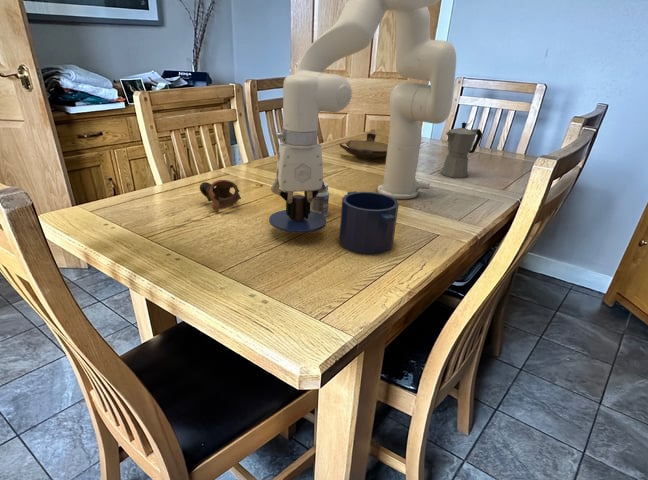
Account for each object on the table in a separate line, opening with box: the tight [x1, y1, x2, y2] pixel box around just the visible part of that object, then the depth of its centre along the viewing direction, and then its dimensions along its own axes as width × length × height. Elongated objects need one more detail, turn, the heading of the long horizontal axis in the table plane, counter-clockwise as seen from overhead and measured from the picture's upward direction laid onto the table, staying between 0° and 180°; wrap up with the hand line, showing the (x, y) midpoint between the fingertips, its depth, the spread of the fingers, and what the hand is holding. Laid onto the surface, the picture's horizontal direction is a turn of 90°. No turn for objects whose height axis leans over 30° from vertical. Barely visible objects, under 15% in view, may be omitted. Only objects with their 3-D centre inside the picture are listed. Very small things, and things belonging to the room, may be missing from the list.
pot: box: [338, 190, 400, 256], centre depth 102 cm, size 13×18×10 cm
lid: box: [268, 194, 328, 234], centre depth 104 cm, size 14×14×7 cm
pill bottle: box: [310, 182, 330, 218], centre depth 117 cm, size 5×5×8 cm
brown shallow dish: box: [339, 128, 388, 159], centre depth 175 cm, size 22×30×8 cm
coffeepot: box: [440, 122, 483, 179], centre depth 155 cm, size 15×9×18 cm, turn 113°
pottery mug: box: [199, 179, 242, 213], centre depth 119 cm, size 12×10×8 cm
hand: (298, 216), depth 105 cm, fingers closed on lid, 2 cm apart
